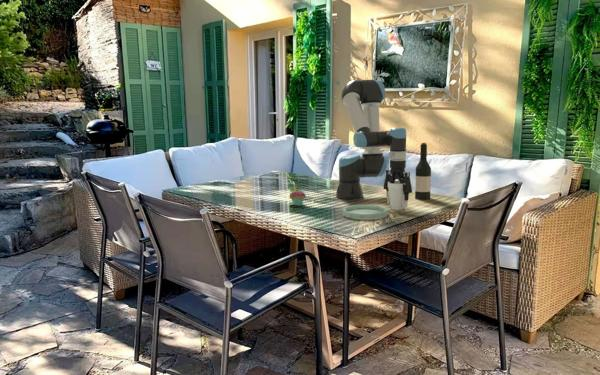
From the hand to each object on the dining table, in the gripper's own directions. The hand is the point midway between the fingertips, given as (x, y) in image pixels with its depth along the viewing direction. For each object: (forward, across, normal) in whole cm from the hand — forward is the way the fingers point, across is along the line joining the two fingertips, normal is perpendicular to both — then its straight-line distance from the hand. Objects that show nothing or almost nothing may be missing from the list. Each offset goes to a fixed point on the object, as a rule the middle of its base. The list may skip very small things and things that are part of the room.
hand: (397, 205), depth 221 cm
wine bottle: (+2, -9, +29) cm, 30 cm away
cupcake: (+2, -40, -32) cm, 51 cm away
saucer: (+2, 0, -21) cm, 21 cm away
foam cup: (+2, 0, 0) cm, 2 cm away
